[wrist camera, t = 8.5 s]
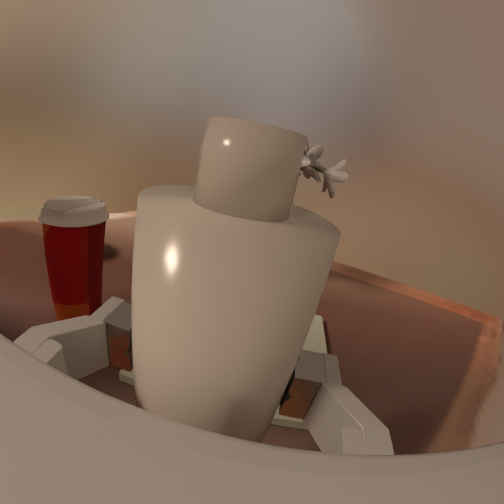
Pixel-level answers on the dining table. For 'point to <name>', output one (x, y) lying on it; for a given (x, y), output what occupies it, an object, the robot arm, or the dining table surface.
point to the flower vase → (322, 169)
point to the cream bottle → (226, 282)
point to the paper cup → (74, 253)
